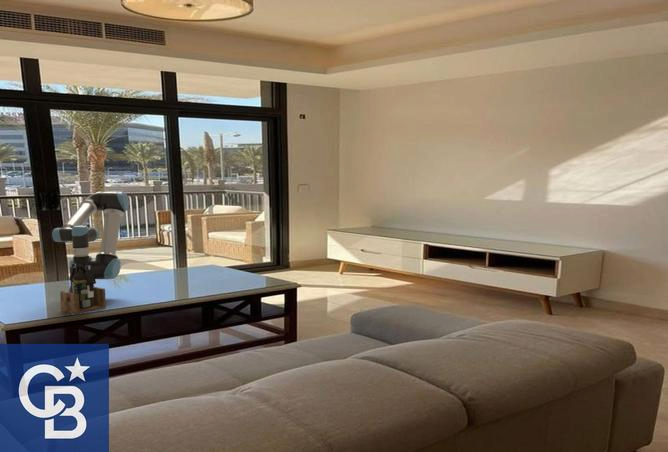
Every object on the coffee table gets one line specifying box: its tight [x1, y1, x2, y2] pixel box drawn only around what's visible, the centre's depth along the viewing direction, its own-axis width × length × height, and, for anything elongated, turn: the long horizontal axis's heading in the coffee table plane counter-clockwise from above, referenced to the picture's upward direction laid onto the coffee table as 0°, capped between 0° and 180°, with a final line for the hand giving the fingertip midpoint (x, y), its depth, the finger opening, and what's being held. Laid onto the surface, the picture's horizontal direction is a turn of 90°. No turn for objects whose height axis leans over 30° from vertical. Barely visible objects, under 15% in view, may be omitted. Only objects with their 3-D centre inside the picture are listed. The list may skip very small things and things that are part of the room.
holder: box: [59, 286, 107, 315], centre depth 266 cm, size 14×18×10 cm
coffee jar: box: [73, 273, 92, 309], centre depth 265 cm, size 10×8×19 cm
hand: (83, 295), depth 266 cm, fingers open, 13 cm apart
